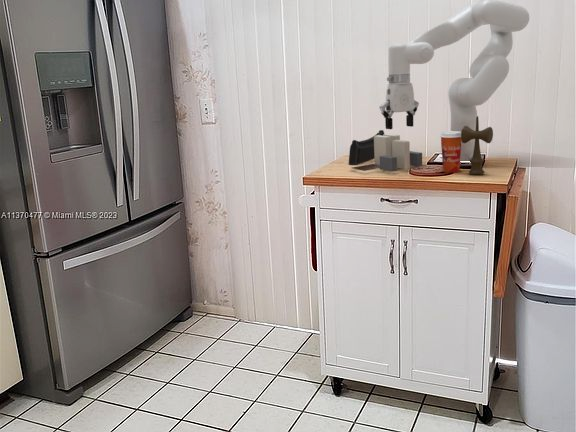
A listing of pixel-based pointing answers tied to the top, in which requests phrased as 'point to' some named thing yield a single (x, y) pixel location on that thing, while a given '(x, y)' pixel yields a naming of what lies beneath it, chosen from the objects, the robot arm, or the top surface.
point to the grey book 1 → (388, 163)
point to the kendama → (476, 145)
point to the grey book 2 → (415, 159)
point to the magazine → (362, 150)
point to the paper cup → (451, 151)
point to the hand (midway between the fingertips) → (399, 127)
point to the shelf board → (367, 167)
